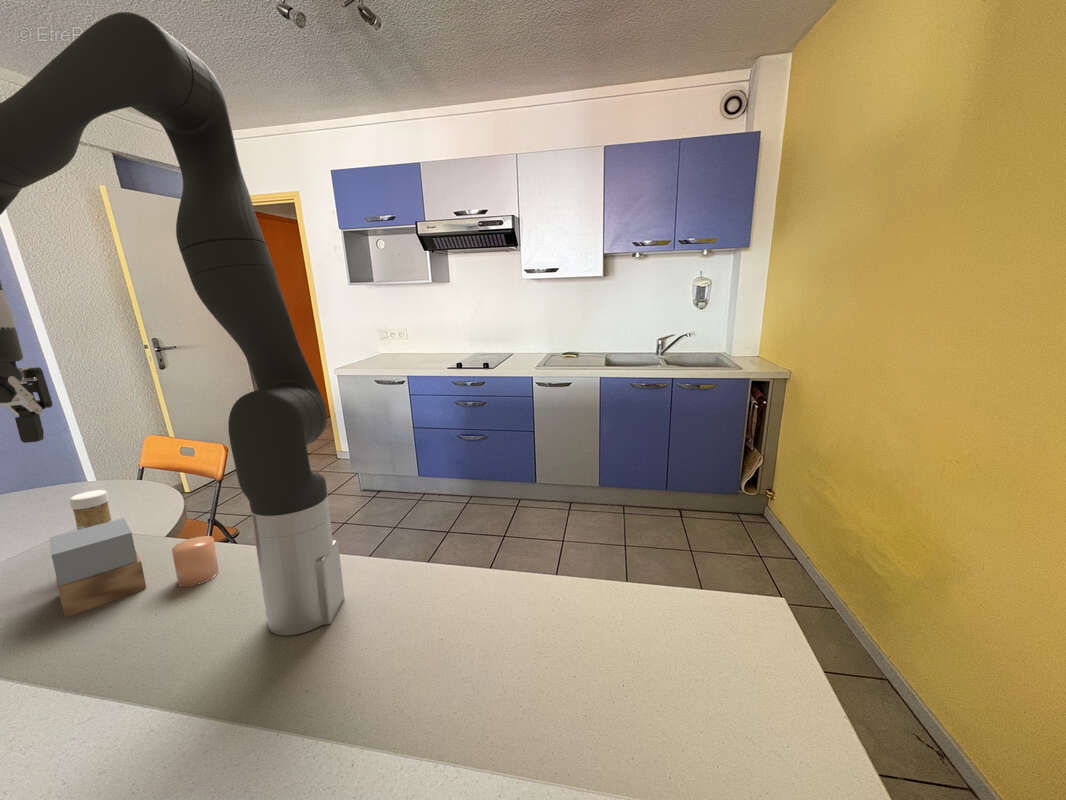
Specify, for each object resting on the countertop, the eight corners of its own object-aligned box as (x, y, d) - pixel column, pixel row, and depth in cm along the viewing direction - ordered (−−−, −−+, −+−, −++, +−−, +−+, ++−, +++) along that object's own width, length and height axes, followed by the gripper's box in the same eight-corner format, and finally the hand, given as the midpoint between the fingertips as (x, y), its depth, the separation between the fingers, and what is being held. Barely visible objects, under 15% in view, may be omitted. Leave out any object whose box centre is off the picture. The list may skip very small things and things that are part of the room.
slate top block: (129, 545, 74) (124, 517, 73) (137, 561, 68) (131, 532, 67) (56, 566, 67) (49, 537, 66) (58, 586, 62) (51, 555, 61)
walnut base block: (137, 570, 75) (131, 543, 74) (146, 589, 69) (141, 561, 68) (61, 595, 68) (54, 566, 67) (65, 619, 62) (57, 588, 61)
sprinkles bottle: (117, 566, 76) (102, 495, 74) (81, 575, 73) (64, 501, 71) (123, 555, 80) (109, 487, 77) (89, 563, 77) (74, 493, 75)
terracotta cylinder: (226, 566, 75) (220, 534, 74) (206, 585, 70) (200, 551, 69) (192, 569, 74) (186, 537, 73) (169, 588, 69) (163, 554, 68)
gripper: (-59, 324, 48) (-19, 462, 51) (54, 325, 62) (80, 434, 64) (-144, 327, 46) (-98, 469, 49) (-9, 328, 60) (21, 439, 63)
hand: (3, 449), depth 57 cm, fingers open, 8 cm apart
